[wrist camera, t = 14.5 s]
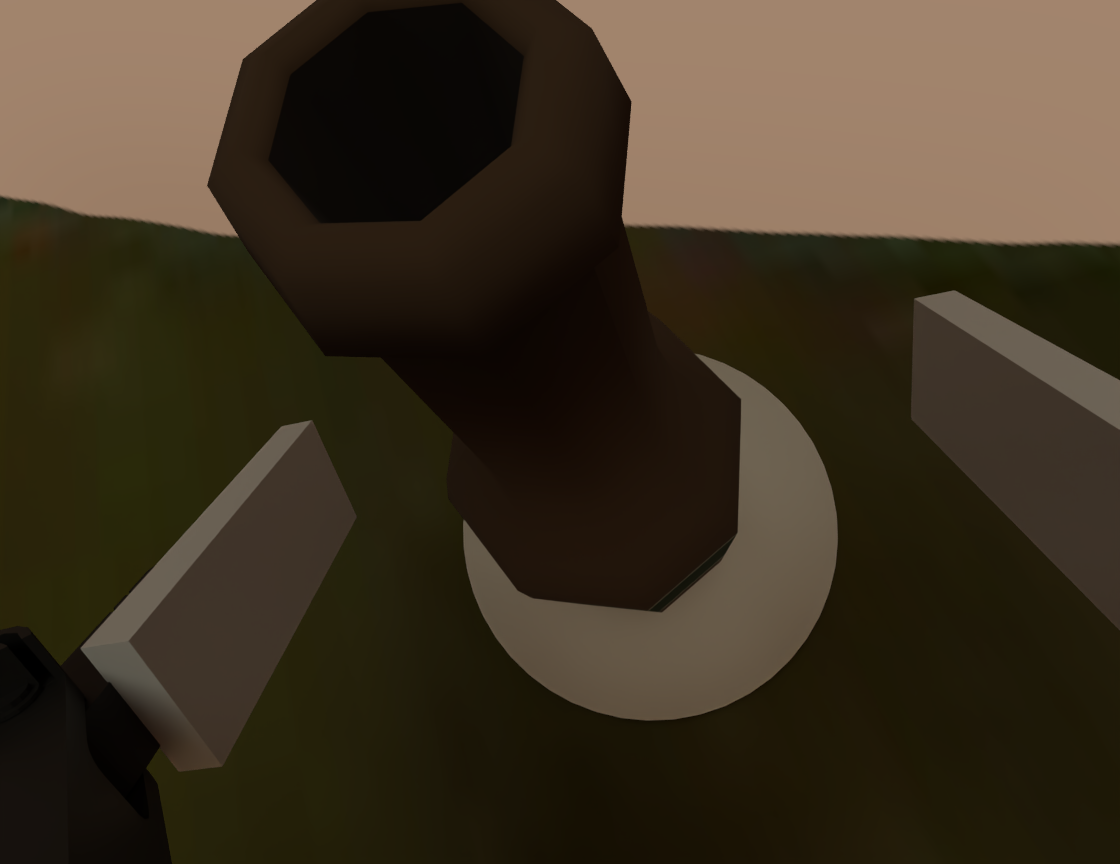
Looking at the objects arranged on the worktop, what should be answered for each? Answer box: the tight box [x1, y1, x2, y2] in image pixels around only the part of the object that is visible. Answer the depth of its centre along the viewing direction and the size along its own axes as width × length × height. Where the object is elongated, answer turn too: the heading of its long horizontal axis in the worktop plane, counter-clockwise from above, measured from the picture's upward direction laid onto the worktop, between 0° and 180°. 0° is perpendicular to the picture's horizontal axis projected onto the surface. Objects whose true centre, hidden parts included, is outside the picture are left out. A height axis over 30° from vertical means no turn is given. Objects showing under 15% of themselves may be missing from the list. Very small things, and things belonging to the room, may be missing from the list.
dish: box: [463, 354, 838, 721], centre depth 28 cm, size 16×16×2 cm
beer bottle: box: [207, 0, 741, 613], centre depth 16 cm, size 8×8×24 cm
